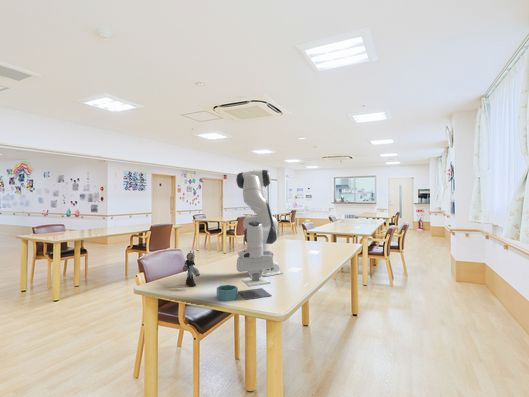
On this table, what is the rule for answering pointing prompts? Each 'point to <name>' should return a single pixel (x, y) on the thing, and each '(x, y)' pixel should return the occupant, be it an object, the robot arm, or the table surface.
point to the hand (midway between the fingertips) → (255, 278)
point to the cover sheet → (261, 281)
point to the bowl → (227, 292)
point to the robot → (190, 269)
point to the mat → (254, 293)
